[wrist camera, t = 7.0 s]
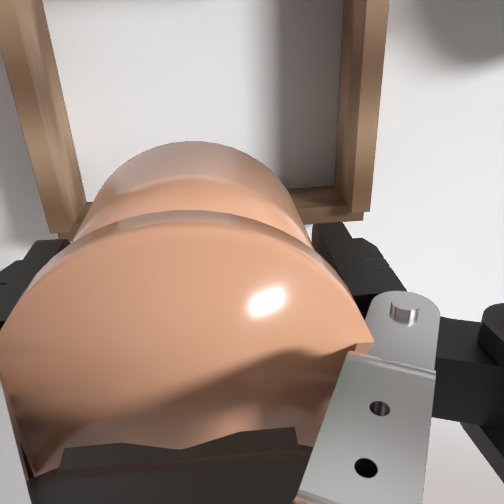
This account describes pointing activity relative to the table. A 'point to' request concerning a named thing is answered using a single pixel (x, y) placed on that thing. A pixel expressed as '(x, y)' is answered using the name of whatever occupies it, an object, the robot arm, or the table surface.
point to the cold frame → (305, 199)
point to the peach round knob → (179, 313)
